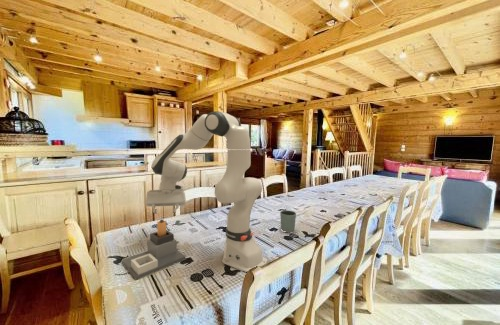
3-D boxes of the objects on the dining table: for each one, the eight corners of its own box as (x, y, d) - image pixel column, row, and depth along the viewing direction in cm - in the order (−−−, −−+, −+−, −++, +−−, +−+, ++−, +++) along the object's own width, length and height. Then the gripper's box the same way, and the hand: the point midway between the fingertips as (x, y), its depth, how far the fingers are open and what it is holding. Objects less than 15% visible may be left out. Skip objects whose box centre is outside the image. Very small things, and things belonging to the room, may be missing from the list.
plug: (167, 240, 105) (167, 220, 104) (159, 242, 102) (159, 222, 101) (163, 237, 108) (163, 218, 107) (156, 239, 105) (155, 220, 104)
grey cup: (295, 234, 134) (296, 216, 133) (278, 232, 136) (279, 214, 135) (295, 228, 144) (296, 210, 143) (279, 226, 146) (280, 209, 144)
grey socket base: (185, 259, 102) (185, 238, 101) (136, 280, 86) (135, 255, 85) (168, 246, 114) (168, 227, 113) (122, 262, 97) (121, 240, 96)
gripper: (146, 187, 115) (141, 210, 106) (186, 186, 119) (184, 209, 111) (148, 193, 120) (144, 216, 111) (186, 192, 124) (185, 214, 116)
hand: (164, 212), depth 111 cm, fingers open, 8 cm apart
